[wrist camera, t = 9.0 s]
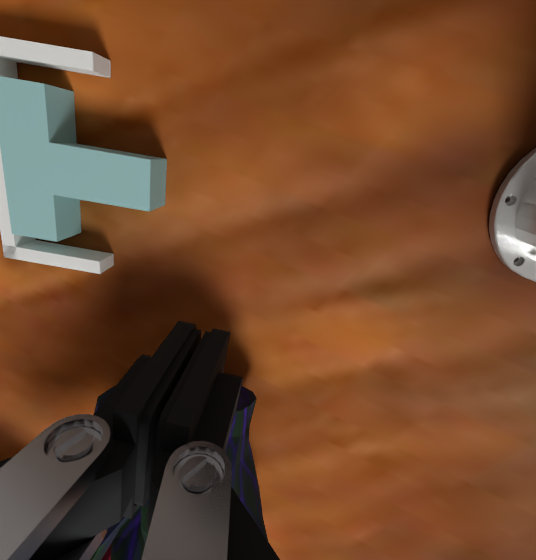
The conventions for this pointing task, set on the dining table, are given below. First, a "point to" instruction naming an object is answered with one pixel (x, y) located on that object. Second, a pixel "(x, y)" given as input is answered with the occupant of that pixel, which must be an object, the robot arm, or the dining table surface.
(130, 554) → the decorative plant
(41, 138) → the t block
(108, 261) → the dock
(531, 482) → the dining table surface
